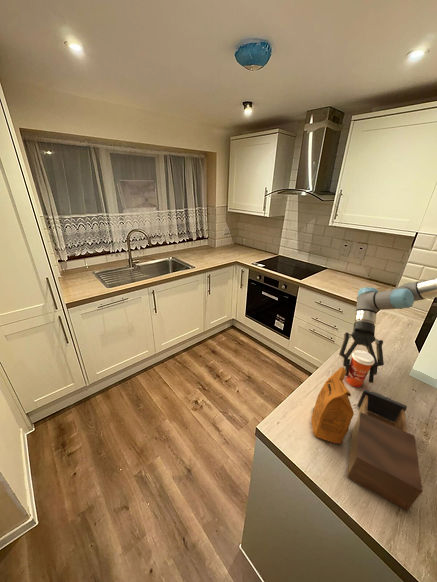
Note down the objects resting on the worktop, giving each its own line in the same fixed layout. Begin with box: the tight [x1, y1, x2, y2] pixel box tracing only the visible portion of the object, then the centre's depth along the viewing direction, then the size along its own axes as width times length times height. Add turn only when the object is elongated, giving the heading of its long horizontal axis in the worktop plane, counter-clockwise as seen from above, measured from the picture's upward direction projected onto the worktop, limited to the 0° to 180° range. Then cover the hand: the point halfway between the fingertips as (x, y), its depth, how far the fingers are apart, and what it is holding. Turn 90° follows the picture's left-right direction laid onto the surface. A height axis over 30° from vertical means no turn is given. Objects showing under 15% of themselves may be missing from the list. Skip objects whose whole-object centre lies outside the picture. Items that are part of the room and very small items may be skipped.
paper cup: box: [345, 349, 375, 388], centre depth 93 cm, size 8×8×14 cm
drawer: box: [356, 388, 408, 433], centre depth 77 cm, size 20×12×8 cm, turn 148°
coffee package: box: [311, 366, 355, 444], centre depth 74 cm, size 10×12×22 cm
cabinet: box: [346, 412, 423, 512], centre depth 65 cm, size 16×14×10 cm
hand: (358, 379), depth 91 cm, fingers closed on paper cup, 8 cm apart
